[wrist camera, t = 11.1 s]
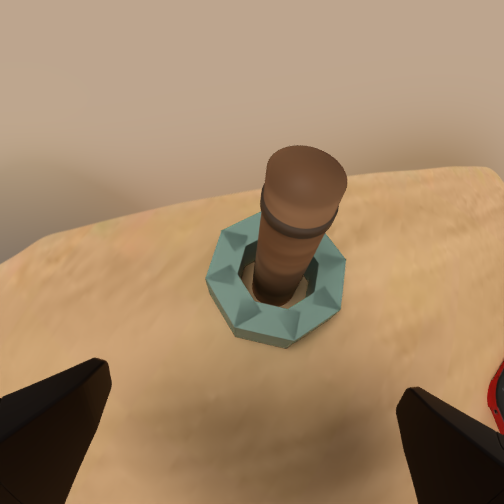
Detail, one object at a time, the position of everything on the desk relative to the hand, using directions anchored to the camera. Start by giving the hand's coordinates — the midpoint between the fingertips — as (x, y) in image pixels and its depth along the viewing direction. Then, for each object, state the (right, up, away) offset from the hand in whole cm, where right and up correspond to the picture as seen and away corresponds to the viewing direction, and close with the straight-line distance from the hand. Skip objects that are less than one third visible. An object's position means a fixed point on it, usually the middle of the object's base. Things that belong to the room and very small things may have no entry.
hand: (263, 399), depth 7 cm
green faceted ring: (+1, +1, +16) cm, 16 cm away
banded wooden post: (+1, +1, +16) cm, 16 cm away
